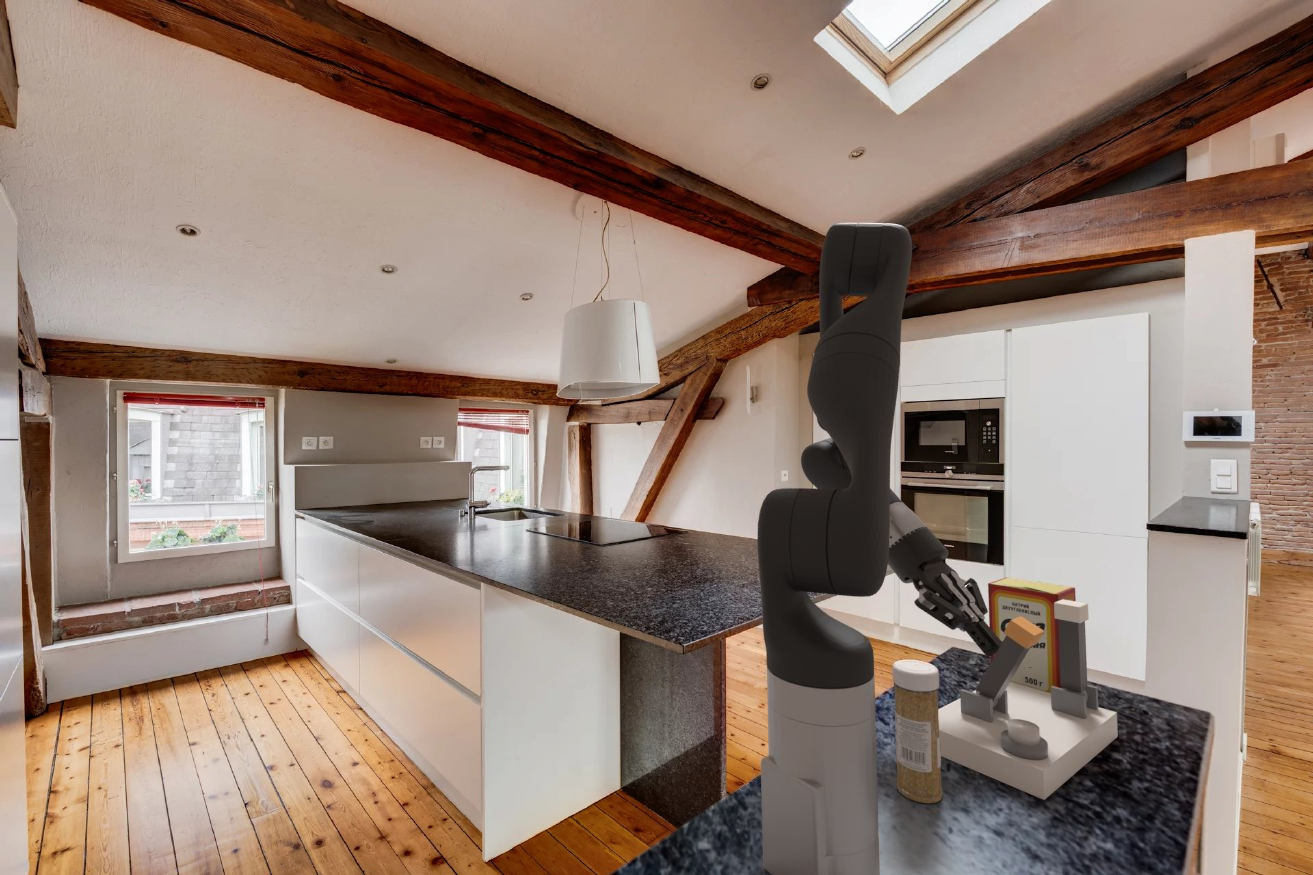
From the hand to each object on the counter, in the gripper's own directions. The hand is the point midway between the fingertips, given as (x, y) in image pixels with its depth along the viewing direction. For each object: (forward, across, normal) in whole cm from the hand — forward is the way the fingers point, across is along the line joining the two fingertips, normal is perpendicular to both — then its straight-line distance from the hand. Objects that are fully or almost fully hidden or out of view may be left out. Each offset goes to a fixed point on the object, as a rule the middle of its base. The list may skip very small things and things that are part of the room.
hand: (997, 652), depth 72 cm
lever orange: (+4, 0, +7) cm, 8 cm away
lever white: (+9, +10, +2) cm, 14 cm away
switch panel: (+9, +2, +7) cm, 11 cm away
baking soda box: (+5, +21, +11) cm, 24 cm away
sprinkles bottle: (+8, -18, +8) cm, 21 cm away
